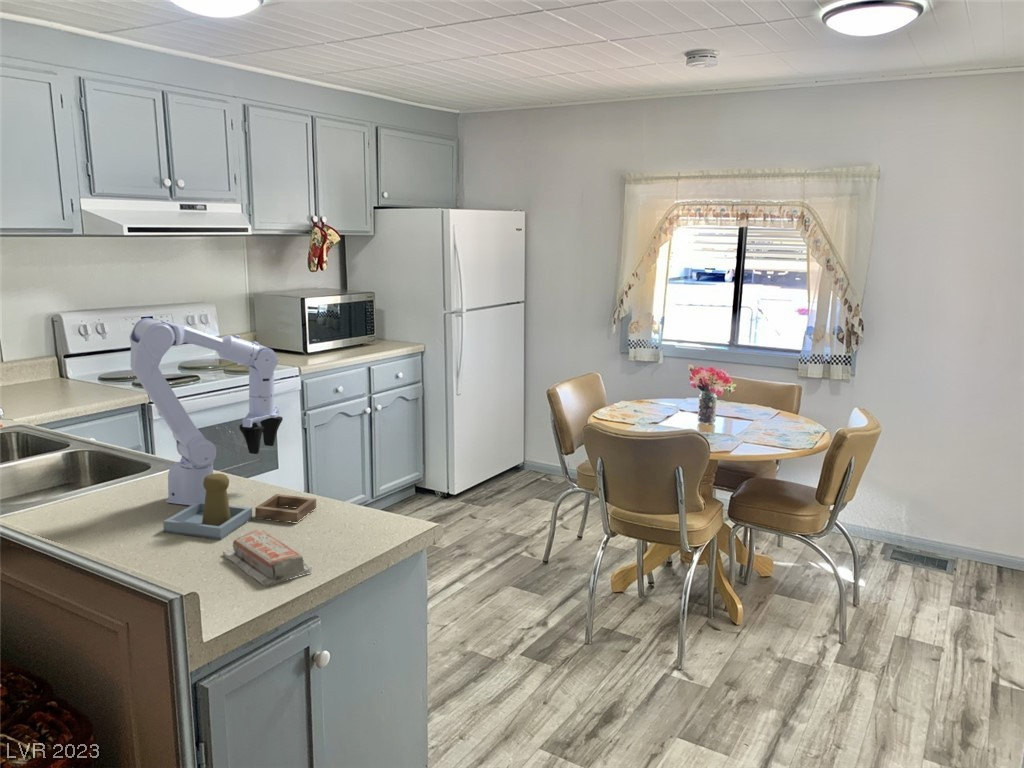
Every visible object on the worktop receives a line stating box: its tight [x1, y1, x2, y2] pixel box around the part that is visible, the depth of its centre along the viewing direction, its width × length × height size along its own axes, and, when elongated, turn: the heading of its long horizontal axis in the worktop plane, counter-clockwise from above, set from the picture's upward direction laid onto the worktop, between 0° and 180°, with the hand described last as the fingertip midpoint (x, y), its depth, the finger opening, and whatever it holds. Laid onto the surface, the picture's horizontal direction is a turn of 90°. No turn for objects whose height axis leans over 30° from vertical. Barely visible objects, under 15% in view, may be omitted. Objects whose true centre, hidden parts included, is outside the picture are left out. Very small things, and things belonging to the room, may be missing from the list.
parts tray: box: [163, 501, 253, 541], centre depth 170 cm, size 13×13×2 cm
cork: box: [202, 473, 231, 526], centre depth 169 cm, size 6×6×11 cm
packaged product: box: [222, 529, 312, 587], centre depth 153 cm, size 18×5×10 cm
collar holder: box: [254, 493, 317, 522], centre depth 180 cm, size 10×10×2 cm
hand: (261, 449), depth 193 cm, fingers open, 7 cm apart
